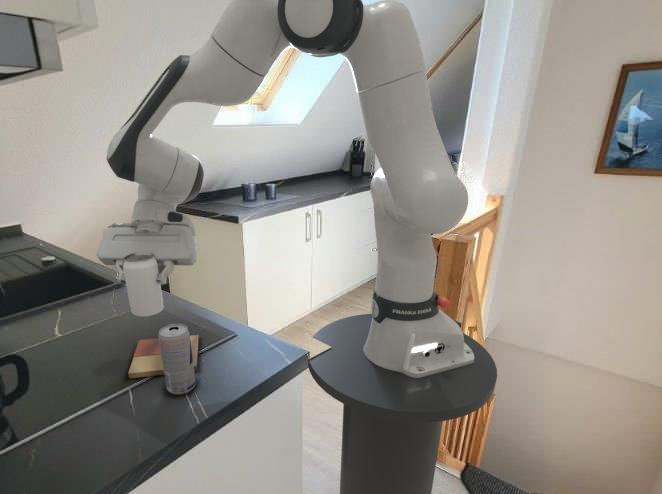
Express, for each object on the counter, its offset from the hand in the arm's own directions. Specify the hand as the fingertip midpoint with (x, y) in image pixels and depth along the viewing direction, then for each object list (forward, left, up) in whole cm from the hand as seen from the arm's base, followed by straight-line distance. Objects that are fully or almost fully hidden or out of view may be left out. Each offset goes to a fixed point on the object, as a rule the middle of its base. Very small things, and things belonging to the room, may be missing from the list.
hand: (142, 283), depth 81 cm
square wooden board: (-3, +2, -16) cm, 17 cm away
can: (0, -1, -7) cm, 7 cm away
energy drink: (-7, +13, -16) cm, 22 cm away
